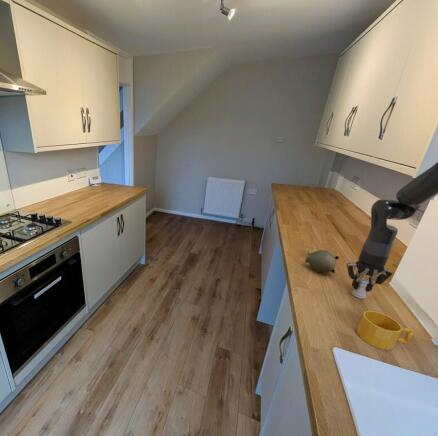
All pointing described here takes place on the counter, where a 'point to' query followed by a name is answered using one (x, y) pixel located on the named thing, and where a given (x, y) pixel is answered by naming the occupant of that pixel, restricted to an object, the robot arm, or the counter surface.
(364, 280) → the rook chess piece
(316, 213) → the counter surface
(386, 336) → the mug
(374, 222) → the robot arm
